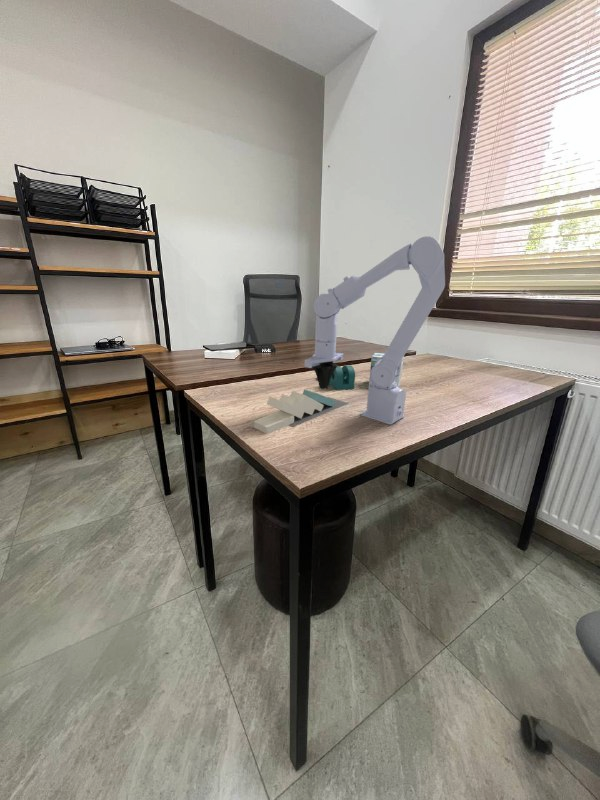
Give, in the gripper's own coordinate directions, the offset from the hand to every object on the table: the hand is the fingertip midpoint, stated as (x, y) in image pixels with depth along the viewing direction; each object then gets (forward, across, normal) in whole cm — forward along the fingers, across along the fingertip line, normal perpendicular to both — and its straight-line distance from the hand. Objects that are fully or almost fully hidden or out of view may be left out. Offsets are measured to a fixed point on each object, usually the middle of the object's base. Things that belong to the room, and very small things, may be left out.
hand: (323, 388), depth 88 cm
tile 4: (+4, +11, 0) cm, 12 cm away
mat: (+6, +4, 0) cm, 7 cm away
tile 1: (+5, -2, 0) cm, 5 cm away
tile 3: (+5, +7, 0) cm, 8 cm away
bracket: (+6, -22, -13) cm, 27 cm away
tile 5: (+4, +14, 0) cm, 15 cm away
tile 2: (+5, +3, 0) cm, 6 cm away
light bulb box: (+6, -34, +1) cm, 35 cm away
